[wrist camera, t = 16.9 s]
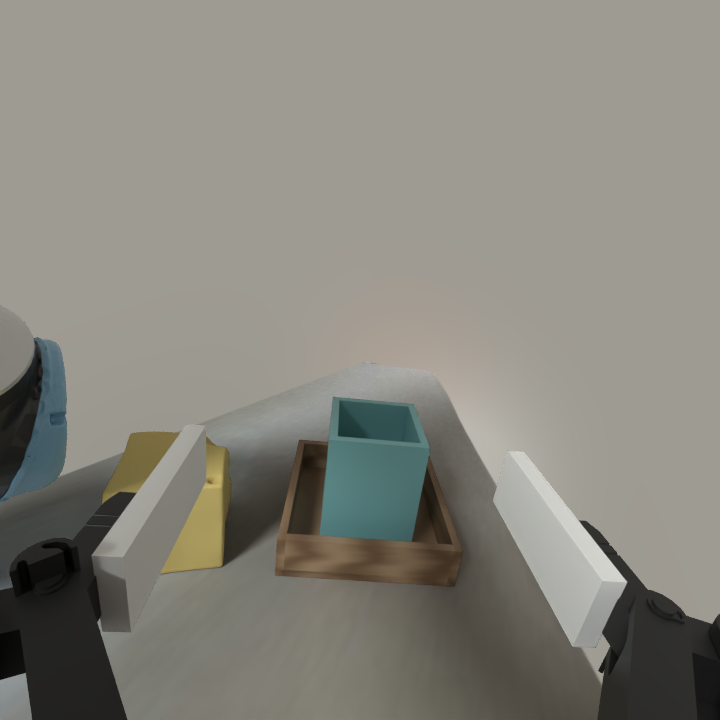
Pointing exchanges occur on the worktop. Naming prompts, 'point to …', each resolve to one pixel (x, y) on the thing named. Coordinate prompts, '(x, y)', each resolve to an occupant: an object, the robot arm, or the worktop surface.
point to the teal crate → (373, 470)
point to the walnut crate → (355, 555)
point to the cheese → (207, 518)
